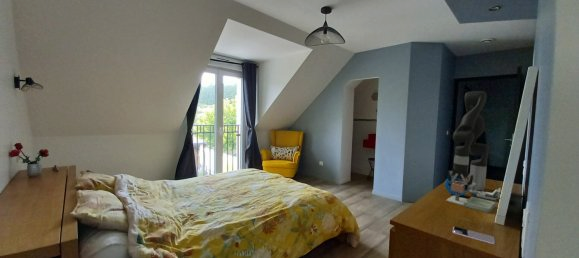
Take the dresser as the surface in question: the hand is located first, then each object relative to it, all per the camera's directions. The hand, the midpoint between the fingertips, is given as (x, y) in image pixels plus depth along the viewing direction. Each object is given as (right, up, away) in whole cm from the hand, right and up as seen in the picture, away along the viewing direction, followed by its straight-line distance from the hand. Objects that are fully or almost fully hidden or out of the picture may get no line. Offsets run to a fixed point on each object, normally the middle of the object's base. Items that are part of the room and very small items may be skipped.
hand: (459, 188), depth 151 cm
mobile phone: (-23, -11, -42) cm, 49 cm away
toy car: (+22, -8, +8) cm, 25 cm away
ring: (0, -1, 0) cm, 1 cm away
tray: (+6, -8, -8) cm, 13 cm away
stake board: (-1, -7, 0) cm, 8 cm away
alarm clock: (+6, -7, +11) cm, 14 cm away
